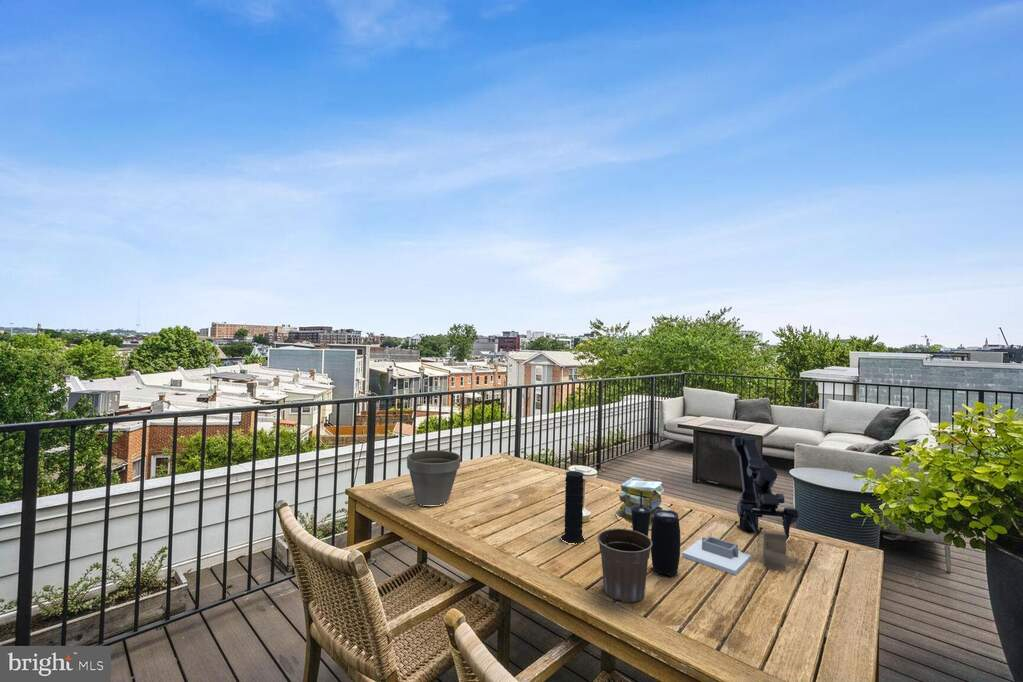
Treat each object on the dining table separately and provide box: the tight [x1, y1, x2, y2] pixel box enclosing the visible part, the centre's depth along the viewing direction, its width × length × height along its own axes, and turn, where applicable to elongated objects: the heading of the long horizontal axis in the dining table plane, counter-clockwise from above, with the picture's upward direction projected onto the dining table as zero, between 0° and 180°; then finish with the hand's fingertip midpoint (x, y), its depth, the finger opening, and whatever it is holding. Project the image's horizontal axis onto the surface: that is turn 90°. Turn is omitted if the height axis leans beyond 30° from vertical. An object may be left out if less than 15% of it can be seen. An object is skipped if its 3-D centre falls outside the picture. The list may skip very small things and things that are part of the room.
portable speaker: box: [650, 509, 681, 578], centre depth 152 cm, size 9×9×20 cm
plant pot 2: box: [596, 528, 652, 603], centre depth 138 cm, size 16×16×16 cm
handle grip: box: [560, 470, 585, 544], centre depth 175 cm, size 10×26×10 cm
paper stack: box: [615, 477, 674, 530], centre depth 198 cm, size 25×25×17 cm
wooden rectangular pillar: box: [762, 529, 787, 572], centre depth 155 cm, size 4×6×12 cm, turn 76°
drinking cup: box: [631, 492, 652, 537], centre depth 172 cm, size 8×8×20 cm
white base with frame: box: [681, 535, 752, 576], centre depth 162 cm, size 16×18×4 cm
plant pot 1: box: [406, 449, 462, 505], centre depth 213 cm, size 25×25×22 cm
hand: (772, 536), depth 158 cm, fingers open, 9 cm apart
